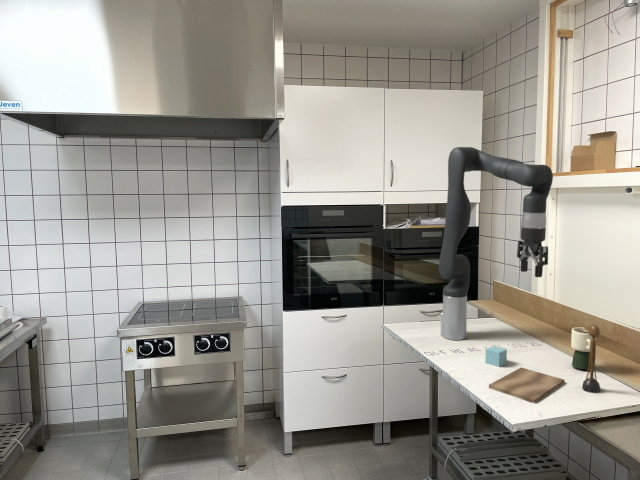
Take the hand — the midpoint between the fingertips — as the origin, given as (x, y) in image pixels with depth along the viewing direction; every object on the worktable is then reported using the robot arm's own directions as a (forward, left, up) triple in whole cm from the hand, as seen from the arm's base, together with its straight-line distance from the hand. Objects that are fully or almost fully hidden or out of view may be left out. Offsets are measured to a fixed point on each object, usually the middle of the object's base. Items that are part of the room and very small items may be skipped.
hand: (530, 274), depth 163 cm
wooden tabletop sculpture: (+22, -6, -31) cm, 39 cm away
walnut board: (+8, -17, -31) cm, 36 cm away
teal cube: (-8, -7, -31) cm, 33 cm away
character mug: (+14, +9, -32) cm, 36 cm away
